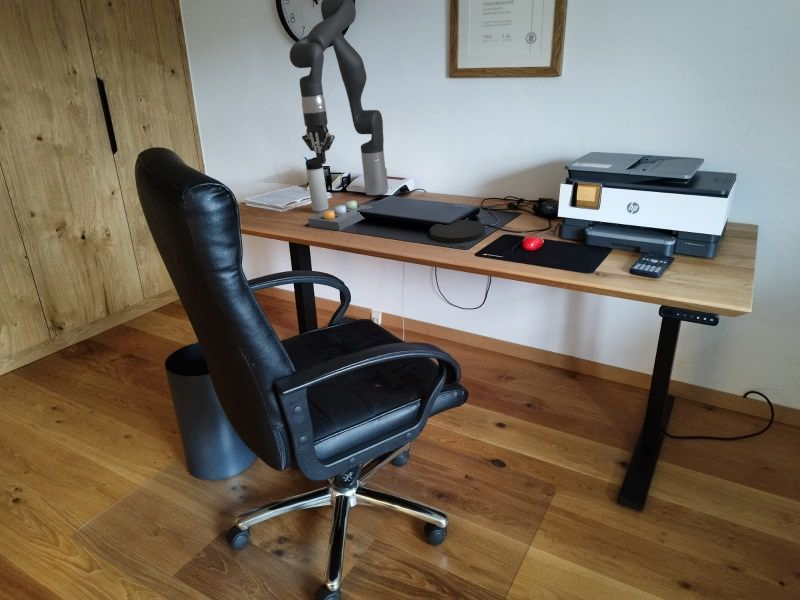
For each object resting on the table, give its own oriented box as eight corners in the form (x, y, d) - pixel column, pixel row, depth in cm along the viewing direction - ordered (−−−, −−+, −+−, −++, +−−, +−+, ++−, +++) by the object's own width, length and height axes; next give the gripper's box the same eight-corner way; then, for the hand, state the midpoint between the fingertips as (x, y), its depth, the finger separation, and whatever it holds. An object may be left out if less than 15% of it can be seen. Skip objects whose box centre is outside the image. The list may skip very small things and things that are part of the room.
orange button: (329, 219, 200) (327, 209, 199) (337, 220, 198) (336, 210, 197) (322, 222, 198) (320, 213, 196) (330, 223, 195) (329, 214, 194)
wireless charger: (443, 223, 191) (443, 218, 190) (493, 228, 183) (493, 222, 182) (420, 241, 177) (420, 235, 176) (473, 246, 169) (473, 240, 168)
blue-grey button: (340, 214, 205) (339, 204, 204) (349, 215, 203) (347, 205, 202) (333, 217, 202) (332, 207, 201) (342, 218, 200) (340, 208, 199)
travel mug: (330, 207, 219) (323, 156, 211) (327, 212, 214) (319, 160, 205) (315, 208, 220) (307, 157, 212) (311, 213, 214) (303, 161, 206)
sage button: (351, 209, 210) (350, 200, 209) (359, 210, 208) (358, 200, 206) (344, 212, 207) (343, 203, 206) (353, 213, 205) (352, 203, 203)
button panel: (343, 210, 214) (342, 203, 213) (373, 214, 207) (372, 206, 206) (309, 226, 200) (307, 218, 198) (339, 230, 192) (338, 222, 191)
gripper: (337, 108, 181) (343, 162, 189) (307, 108, 188) (314, 160, 195) (322, 112, 176) (329, 167, 183) (291, 112, 183) (299, 165, 190)
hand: (321, 163), depth 189 cm, fingers closed
